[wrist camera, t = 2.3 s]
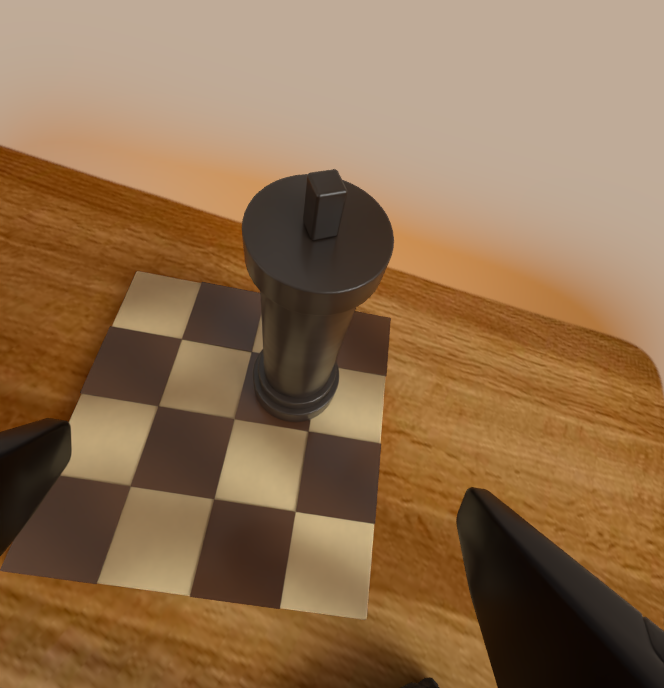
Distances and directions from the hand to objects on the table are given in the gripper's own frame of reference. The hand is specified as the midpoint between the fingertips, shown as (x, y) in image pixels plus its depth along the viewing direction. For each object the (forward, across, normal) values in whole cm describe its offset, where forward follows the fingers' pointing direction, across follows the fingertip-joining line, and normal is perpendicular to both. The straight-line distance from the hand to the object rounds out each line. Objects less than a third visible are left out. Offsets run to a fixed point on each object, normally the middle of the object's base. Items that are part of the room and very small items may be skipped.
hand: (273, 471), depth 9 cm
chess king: (+13, 0, +4) cm, 13 cm away
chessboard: (+11, +3, +6) cm, 13 cm away
